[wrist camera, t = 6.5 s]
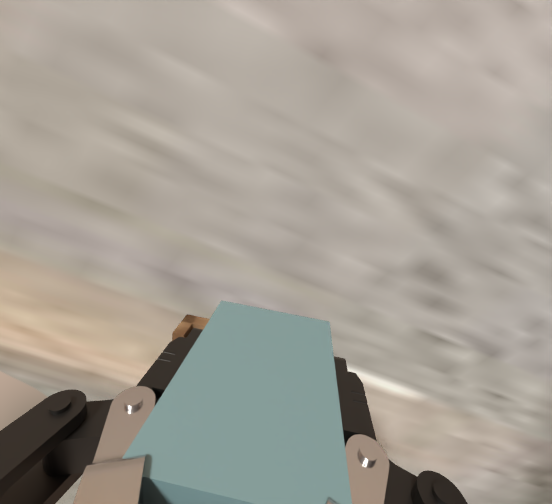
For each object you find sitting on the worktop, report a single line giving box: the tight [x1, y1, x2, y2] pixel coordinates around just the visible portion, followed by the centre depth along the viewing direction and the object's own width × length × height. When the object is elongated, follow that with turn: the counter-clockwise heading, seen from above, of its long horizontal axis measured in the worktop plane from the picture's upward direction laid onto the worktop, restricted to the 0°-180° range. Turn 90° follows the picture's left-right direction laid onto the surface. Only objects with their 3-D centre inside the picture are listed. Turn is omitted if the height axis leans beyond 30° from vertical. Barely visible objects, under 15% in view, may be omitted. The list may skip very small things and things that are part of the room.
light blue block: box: [123, 301, 352, 504], centre depth 10 cm, size 6×3×8 cm, turn 81°
